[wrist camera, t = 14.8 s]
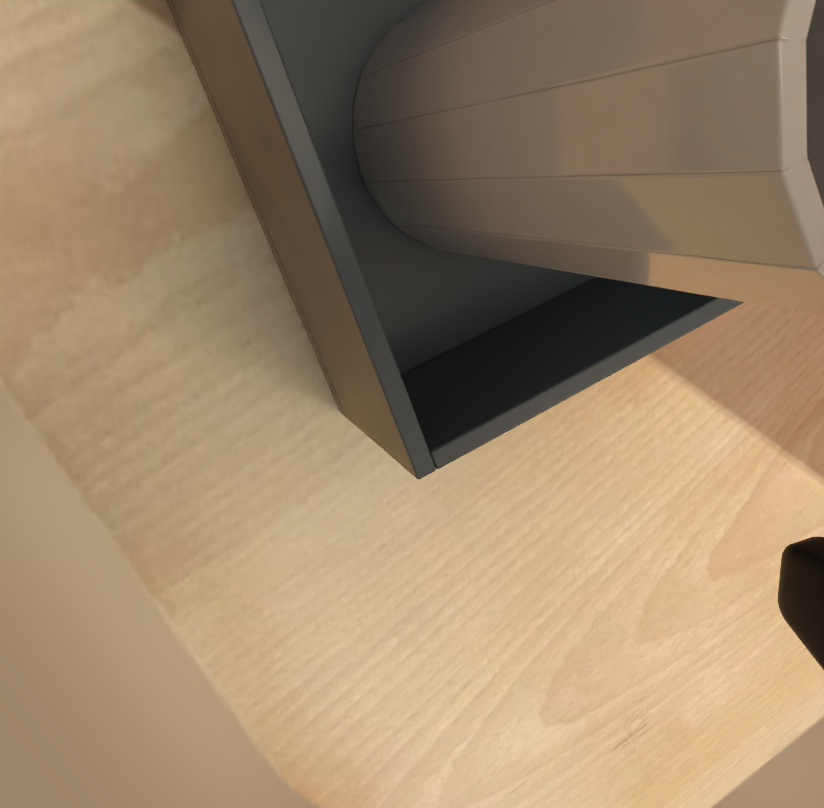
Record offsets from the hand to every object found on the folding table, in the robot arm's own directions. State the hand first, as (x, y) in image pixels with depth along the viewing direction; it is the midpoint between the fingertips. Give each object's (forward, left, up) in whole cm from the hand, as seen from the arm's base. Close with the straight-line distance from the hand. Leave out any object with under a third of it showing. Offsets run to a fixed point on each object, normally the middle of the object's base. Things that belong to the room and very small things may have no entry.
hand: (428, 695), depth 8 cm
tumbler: (+9, +4, -13) cm, 16 cm away
